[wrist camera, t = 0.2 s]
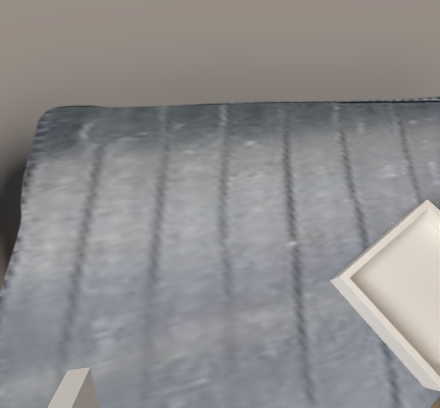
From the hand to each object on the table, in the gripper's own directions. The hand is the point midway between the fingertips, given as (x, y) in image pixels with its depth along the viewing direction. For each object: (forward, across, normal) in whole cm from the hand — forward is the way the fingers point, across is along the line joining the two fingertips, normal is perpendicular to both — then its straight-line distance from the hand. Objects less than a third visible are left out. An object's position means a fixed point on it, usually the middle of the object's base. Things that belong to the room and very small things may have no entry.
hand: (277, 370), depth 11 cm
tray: (+31, -29, +18) cm, 46 cm away
